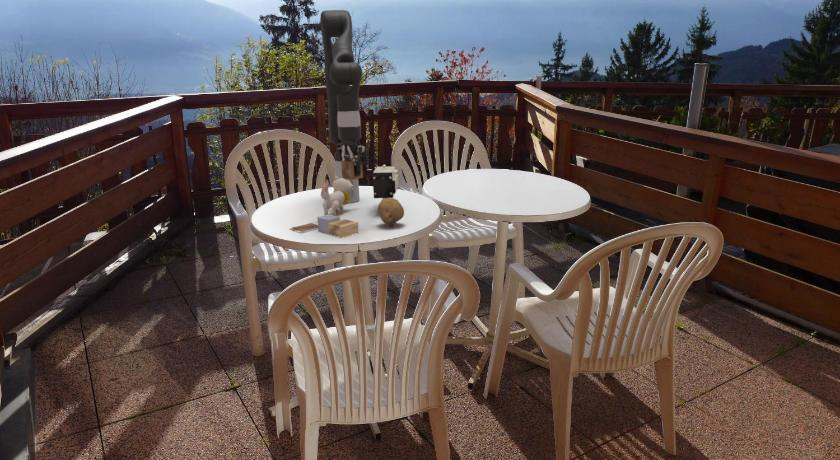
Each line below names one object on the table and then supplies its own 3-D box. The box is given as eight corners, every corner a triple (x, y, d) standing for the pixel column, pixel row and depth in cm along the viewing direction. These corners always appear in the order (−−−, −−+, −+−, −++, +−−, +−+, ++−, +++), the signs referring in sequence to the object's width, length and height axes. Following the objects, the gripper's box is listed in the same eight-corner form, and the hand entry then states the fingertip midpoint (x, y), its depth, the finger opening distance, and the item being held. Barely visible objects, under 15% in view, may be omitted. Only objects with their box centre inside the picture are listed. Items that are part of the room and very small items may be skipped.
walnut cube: (342, 178, 195) (341, 160, 194) (353, 176, 199) (352, 159, 197) (351, 179, 192) (350, 162, 190) (362, 177, 195) (361, 160, 194)
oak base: (329, 234, 193) (328, 223, 191) (344, 230, 198) (344, 218, 196) (342, 238, 188) (341, 226, 187) (358, 233, 193) (357, 222, 192)
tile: (289, 229, 199) (289, 227, 199) (311, 223, 205) (311, 222, 205) (301, 233, 194) (300, 231, 194) (323, 227, 200) (323, 225, 200)
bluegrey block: (317, 217, 195) (328, 220, 191) (328, 214, 199) (339, 216, 195) (318, 231, 197) (329, 234, 193) (329, 227, 200) (340, 230, 196)
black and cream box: (396, 216, 212) (394, 169, 207) (373, 216, 212) (371, 169, 207) (400, 204, 229) (399, 160, 224) (379, 204, 230) (377, 161, 225)
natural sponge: (403, 221, 205) (402, 194, 202) (405, 228, 197) (404, 200, 194) (377, 223, 204) (376, 195, 201) (379, 230, 196) (378, 201, 193)
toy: (358, 209, 224) (355, 171, 219) (335, 222, 206) (332, 181, 202) (337, 208, 227) (334, 170, 222) (313, 220, 209) (310, 180, 205)
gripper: (327, 125, 193) (330, 174, 197) (353, 126, 183) (357, 179, 187) (344, 123, 198) (348, 171, 202) (371, 124, 188) (374, 175, 192)
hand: (352, 175), depth 195 cm, fingers closed on walnut cube, 5 cm apart
